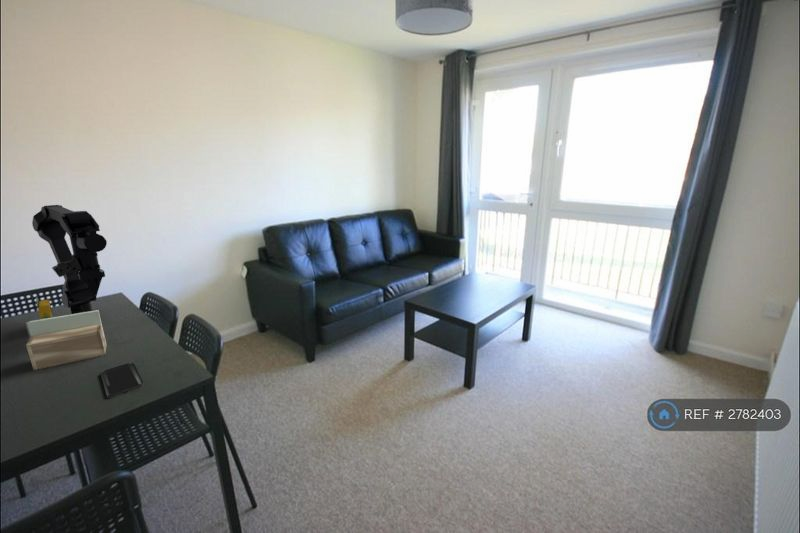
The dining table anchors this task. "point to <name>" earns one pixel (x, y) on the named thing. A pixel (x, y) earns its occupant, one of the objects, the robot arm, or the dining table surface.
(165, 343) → the dining table surface
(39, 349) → the crate
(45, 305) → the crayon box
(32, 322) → the flap
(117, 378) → the phone
